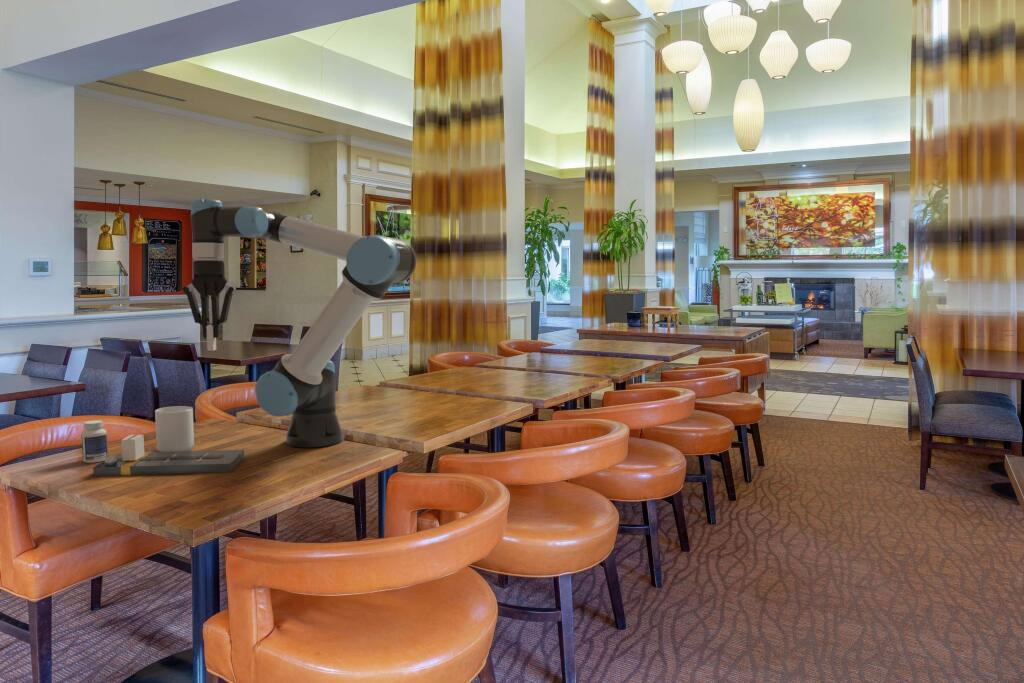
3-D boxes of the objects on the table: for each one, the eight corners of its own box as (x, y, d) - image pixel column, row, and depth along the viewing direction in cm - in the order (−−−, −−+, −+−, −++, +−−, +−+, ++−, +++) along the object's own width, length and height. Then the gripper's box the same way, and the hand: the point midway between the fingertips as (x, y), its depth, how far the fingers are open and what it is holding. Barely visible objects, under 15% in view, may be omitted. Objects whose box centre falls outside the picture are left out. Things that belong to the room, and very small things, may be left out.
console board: (244, 457, 174) (243, 442, 173) (230, 472, 161) (229, 455, 160) (118, 461, 170) (117, 445, 170) (93, 476, 157) (92, 459, 157)
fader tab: (144, 454, 167) (143, 434, 166) (135, 460, 162) (134, 439, 161) (131, 455, 166) (130, 434, 166) (122, 460, 161) (121, 439, 161)
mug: (194, 453, 178) (192, 411, 177) (155, 456, 174) (153, 413, 173) (195, 442, 189) (193, 403, 188) (158, 446, 185) (157, 405, 184)
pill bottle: (112, 459, 172) (110, 420, 171) (92, 464, 167) (89, 425, 166) (98, 456, 174) (96, 418, 173) (77, 461, 169) (75, 422, 168)
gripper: (238, 260, 183) (241, 348, 185) (187, 260, 181) (190, 348, 183) (230, 259, 175) (233, 351, 177) (177, 259, 174) (180, 351, 176)
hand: (211, 350), depth 180 cm, fingers closed
